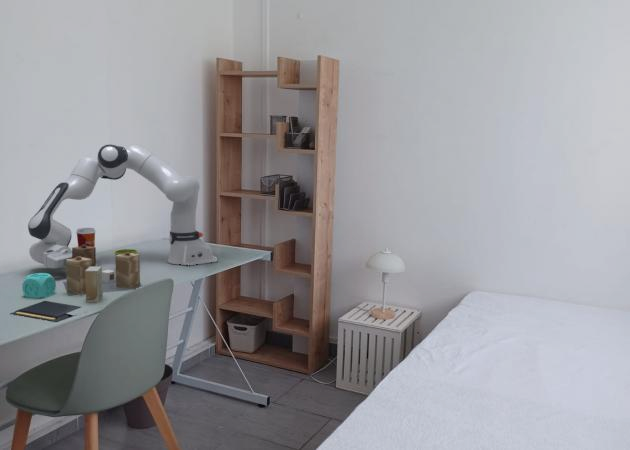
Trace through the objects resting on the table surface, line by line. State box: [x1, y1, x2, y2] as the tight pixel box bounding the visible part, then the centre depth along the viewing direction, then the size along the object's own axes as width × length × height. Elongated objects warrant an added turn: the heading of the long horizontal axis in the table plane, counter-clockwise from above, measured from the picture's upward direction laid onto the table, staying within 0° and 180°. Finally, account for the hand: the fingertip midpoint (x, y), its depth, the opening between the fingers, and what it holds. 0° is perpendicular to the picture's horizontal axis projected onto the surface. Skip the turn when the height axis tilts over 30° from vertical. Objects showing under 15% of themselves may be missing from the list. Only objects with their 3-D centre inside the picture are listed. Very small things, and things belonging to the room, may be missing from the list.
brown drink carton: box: [71, 245, 97, 267], centre depth 241 cm, size 6×6×13 cm
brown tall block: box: [114, 252, 141, 289], centre depth 230 cm, size 6×6×13 cm
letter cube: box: [102, 269, 116, 283], centre depth 236 cm, size 4×4×4 cm
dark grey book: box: [9, 300, 82, 323], centre depth 201 cm, size 20×2×15 cm
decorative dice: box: [21, 272, 57, 299], centre depth 216 cm, size 8×8×8 cm
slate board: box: [62, 281, 143, 297], centre depth 231 cm, size 27×20×1 cm
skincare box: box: [85, 266, 104, 303], centre depth 212 cm, size 6×4×12 cm
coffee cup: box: [75, 227, 97, 248], centre depth 269 cm, size 8×8×15 cm
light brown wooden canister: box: [65, 256, 92, 296], centre depth 221 cm, size 6×6×13 cm
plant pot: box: [113, 248, 138, 256], centre depth 256 cm, size 9×9×9 cm
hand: (85, 261), depth 241 cm, fingers closed on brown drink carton, 6 cm apart
